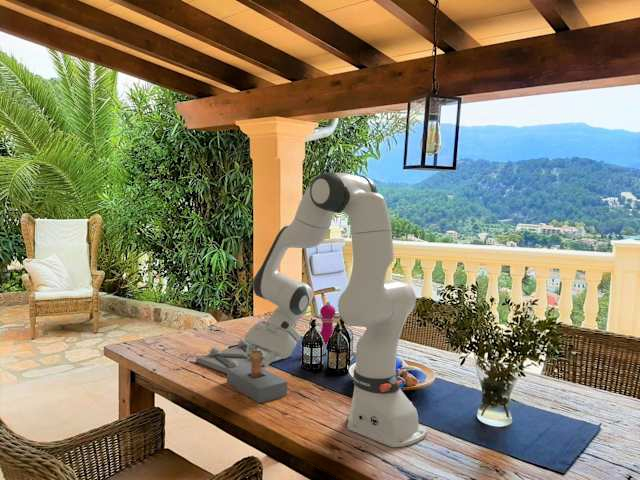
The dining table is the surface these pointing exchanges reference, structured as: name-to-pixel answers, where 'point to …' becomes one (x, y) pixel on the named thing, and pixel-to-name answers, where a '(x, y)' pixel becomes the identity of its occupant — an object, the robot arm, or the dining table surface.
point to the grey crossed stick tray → (230, 357)
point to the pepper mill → (327, 321)
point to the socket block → (257, 383)
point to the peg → (256, 364)
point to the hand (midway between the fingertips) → (254, 361)
